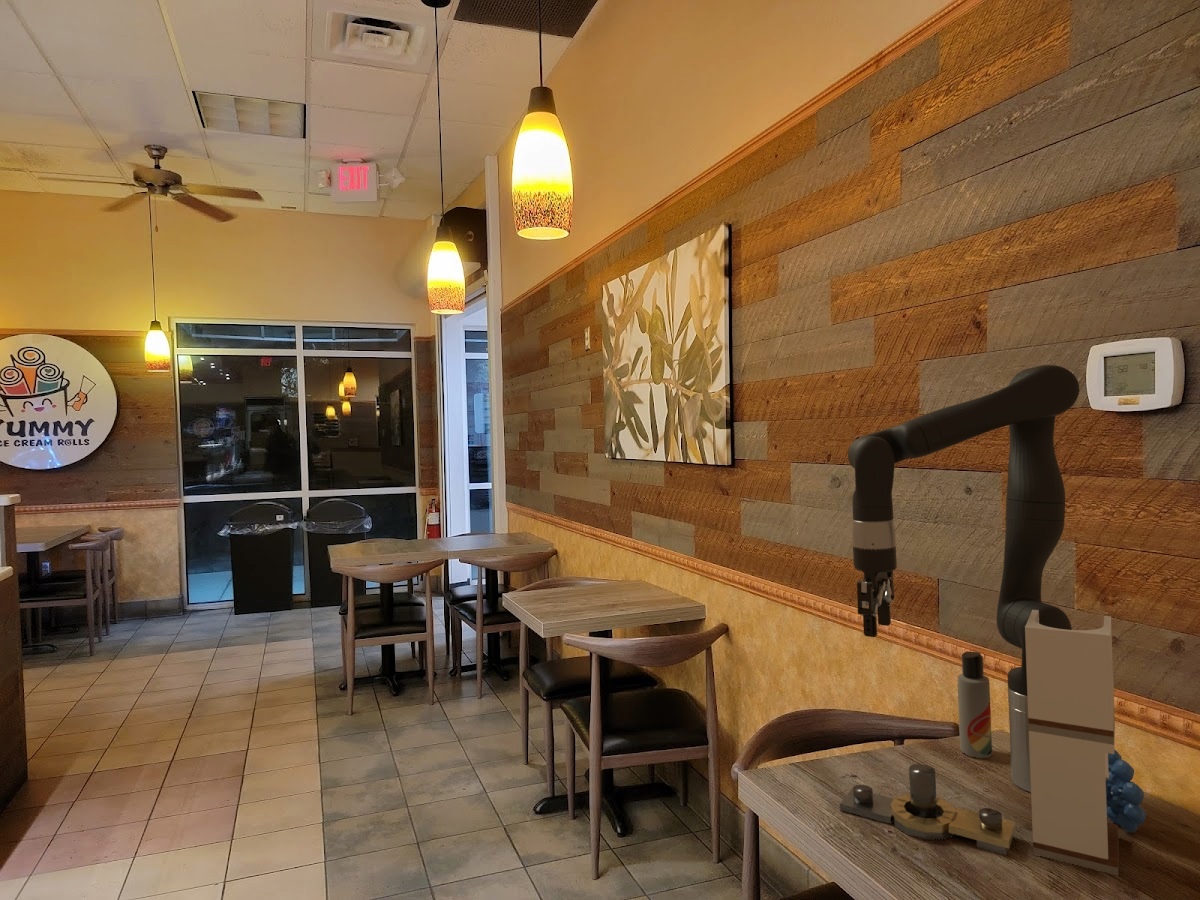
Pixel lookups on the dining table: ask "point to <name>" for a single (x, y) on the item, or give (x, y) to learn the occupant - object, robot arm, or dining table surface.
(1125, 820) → the grapes
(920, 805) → the pin
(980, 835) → the tan piece
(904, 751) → the dining table surface
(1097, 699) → the beige rectangular tower
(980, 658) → the lotion bottle
